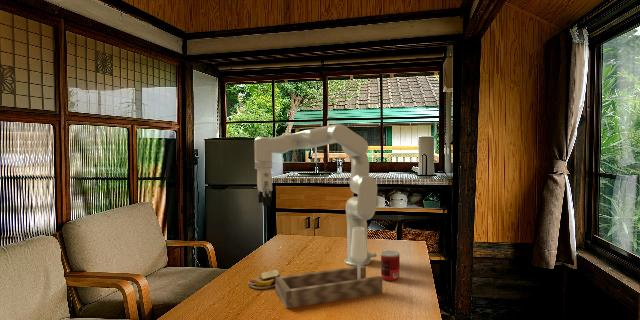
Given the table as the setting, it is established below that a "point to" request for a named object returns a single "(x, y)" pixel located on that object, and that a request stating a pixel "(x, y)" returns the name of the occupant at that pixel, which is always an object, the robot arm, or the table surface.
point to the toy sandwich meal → (264, 280)
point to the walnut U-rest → (325, 286)
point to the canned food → (390, 266)
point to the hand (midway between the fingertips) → (264, 204)
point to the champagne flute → (358, 247)
